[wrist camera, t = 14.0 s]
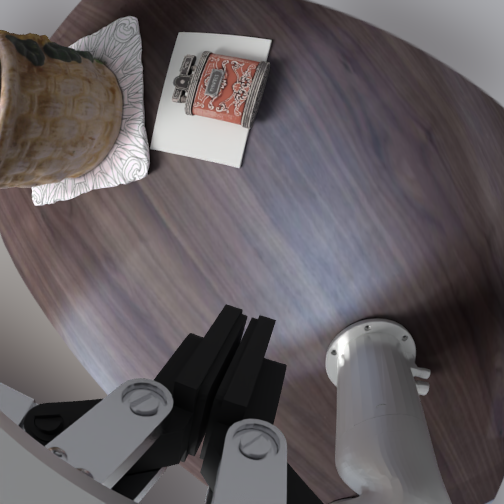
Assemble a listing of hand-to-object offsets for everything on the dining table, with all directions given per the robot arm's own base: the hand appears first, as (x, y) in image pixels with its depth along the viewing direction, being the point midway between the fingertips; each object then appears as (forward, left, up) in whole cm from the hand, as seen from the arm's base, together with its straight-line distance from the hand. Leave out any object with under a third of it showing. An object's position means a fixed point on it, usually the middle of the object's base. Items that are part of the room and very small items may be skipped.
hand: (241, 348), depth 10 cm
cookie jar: (+34, -6, -27) cm, 44 cm away
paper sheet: (+14, -11, -27) cm, 32 cm away
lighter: (+7, -12, -25) cm, 29 cm away
